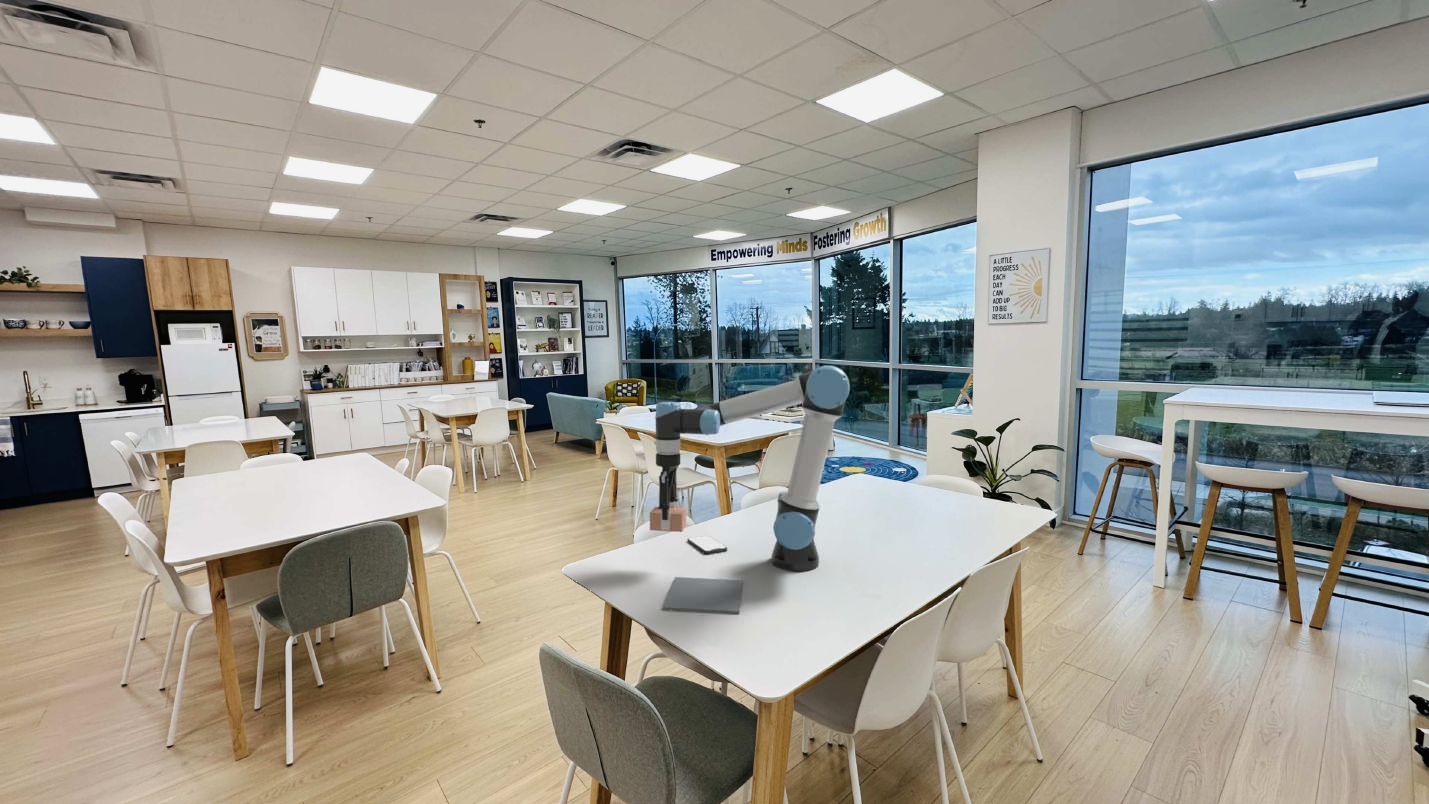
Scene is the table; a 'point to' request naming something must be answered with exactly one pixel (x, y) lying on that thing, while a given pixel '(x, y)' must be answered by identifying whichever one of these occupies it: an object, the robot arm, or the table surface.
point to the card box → (675, 519)
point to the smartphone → (707, 545)
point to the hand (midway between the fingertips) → (668, 525)
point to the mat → (704, 595)
